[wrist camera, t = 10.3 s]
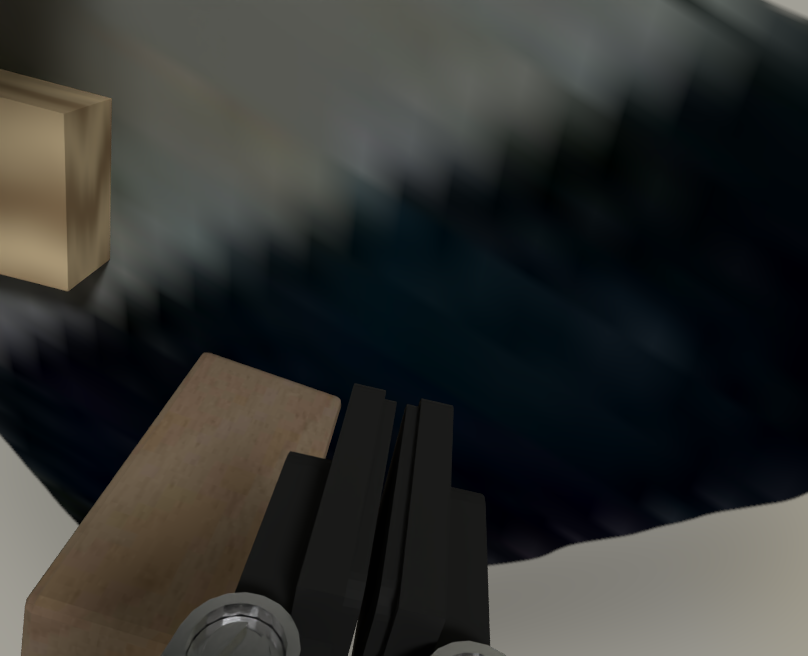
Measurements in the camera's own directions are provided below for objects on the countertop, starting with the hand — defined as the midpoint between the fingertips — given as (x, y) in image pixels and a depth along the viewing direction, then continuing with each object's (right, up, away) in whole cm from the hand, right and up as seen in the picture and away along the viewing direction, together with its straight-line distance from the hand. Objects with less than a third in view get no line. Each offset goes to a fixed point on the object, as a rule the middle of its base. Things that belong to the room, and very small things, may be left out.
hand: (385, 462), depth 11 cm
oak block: (-21, +12, +27) cm, 37 cm away
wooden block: (-10, -5, +35) cm, 37 cm away
